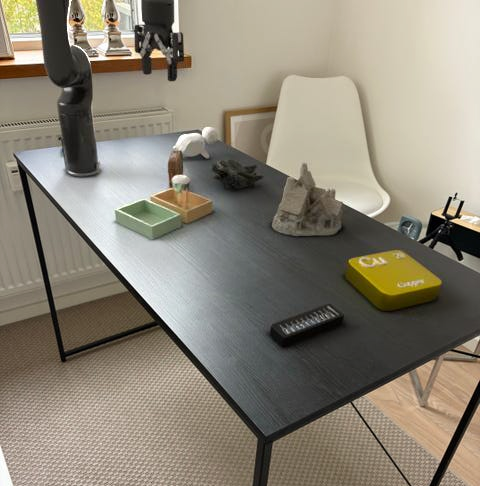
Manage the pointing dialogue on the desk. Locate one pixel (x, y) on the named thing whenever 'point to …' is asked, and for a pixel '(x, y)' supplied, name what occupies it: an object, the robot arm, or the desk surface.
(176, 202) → the milkshake
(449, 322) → the desk surface
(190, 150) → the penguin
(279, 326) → the multiport hub
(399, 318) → the desk surface
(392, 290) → the element tile
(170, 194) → the bin right
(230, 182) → the mineral specimen
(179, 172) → the tin
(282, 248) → the desk surface
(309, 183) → the ceramic cottage
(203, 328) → the desk surface
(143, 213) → the bin left
